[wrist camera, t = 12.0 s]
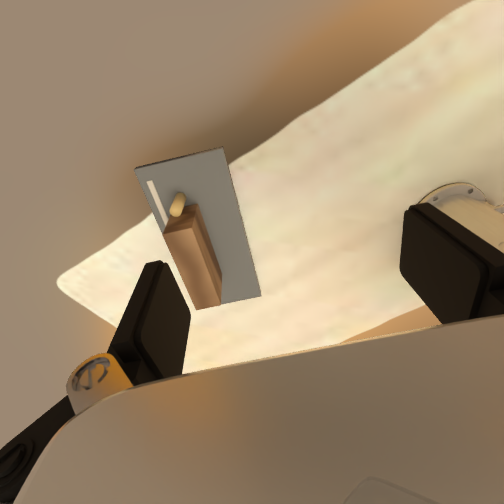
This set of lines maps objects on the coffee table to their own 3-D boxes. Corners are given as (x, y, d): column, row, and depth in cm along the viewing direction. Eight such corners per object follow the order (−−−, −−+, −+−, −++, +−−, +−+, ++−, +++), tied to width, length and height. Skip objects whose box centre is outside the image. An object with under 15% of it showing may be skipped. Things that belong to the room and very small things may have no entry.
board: (222, 146, 41) (221, 157, 35) (260, 292, 56) (263, 315, 50) (136, 167, 41) (122, 181, 36) (196, 305, 57) (193, 329, 51)
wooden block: (197, 203, 44) (191, 227, 37) (222, 274, 51) (220, 305, 45) (172, 209, 44) (161, 234, 37) (200, 278, 52) (195, 310, 45)
